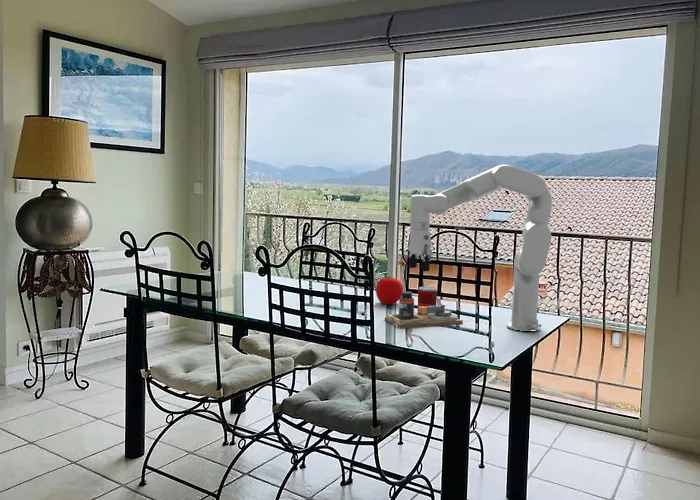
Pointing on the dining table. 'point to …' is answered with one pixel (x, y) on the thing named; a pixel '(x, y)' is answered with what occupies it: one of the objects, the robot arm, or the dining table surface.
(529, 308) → the robot arm
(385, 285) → the tomato
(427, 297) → the canned food
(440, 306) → the grey lever handle
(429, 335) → the dining table surface
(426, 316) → the board
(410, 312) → the supplement bottle
